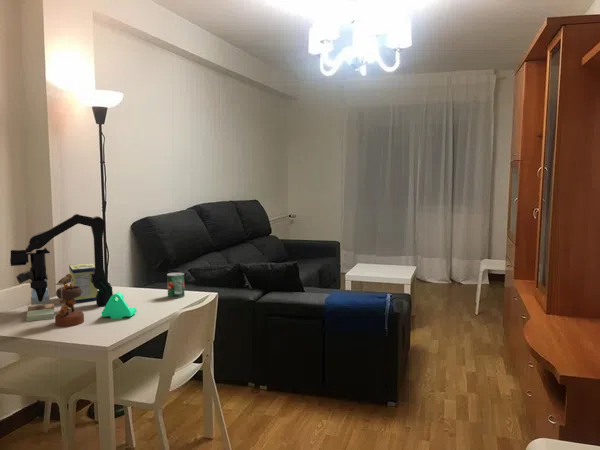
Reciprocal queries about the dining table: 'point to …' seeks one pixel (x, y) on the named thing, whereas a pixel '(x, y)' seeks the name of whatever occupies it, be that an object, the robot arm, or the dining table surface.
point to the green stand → (40, 314)
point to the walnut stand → (40, 307)
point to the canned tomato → (175, 285)
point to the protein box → (83, 281)
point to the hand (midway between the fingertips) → (40, 300)
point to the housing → (35, 299)
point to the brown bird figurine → (68, 304)
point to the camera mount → (117, 307)
